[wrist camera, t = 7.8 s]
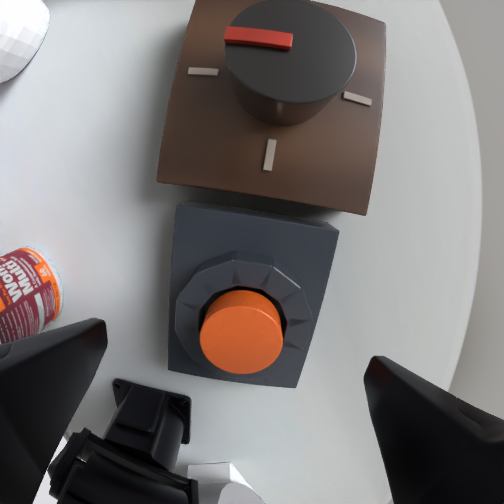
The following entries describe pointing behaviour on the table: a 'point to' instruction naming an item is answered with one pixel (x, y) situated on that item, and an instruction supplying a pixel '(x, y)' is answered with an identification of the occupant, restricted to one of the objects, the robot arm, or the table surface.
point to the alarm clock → (222, 485)
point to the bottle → (20, 34)
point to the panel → (270, 135)
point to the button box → (246, 281)
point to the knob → (288, 59)
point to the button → (241, 332)
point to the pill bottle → (27, 294)
